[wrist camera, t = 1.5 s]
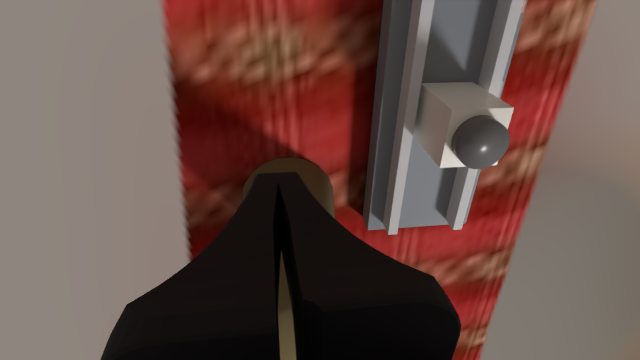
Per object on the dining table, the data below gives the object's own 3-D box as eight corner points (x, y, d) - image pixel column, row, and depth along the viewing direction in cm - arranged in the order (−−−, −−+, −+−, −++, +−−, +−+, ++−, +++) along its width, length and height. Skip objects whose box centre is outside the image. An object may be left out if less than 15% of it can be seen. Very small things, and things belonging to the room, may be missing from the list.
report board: (456, 210, 27) (479, 242, 24) (362, 216, 27) (375, 250, 24) (534, -94, 18) (587, -103, 15) (393, -100, 17) (420, -110, 14)
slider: (460, 132, 22) (505, 173, 18) (412, 134, 22) (446, 176, 18) (472, 81, 21) (524, 114, 17) (420, 83, 20) (460, 116, 16)
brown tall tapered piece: (228, 169, 23) (208, 316, 14) (324, 147, 23) (366, 278, 14) (256, 241, 26) (254, 400, 17) (339, 221, 26) (383, 368, 17)
